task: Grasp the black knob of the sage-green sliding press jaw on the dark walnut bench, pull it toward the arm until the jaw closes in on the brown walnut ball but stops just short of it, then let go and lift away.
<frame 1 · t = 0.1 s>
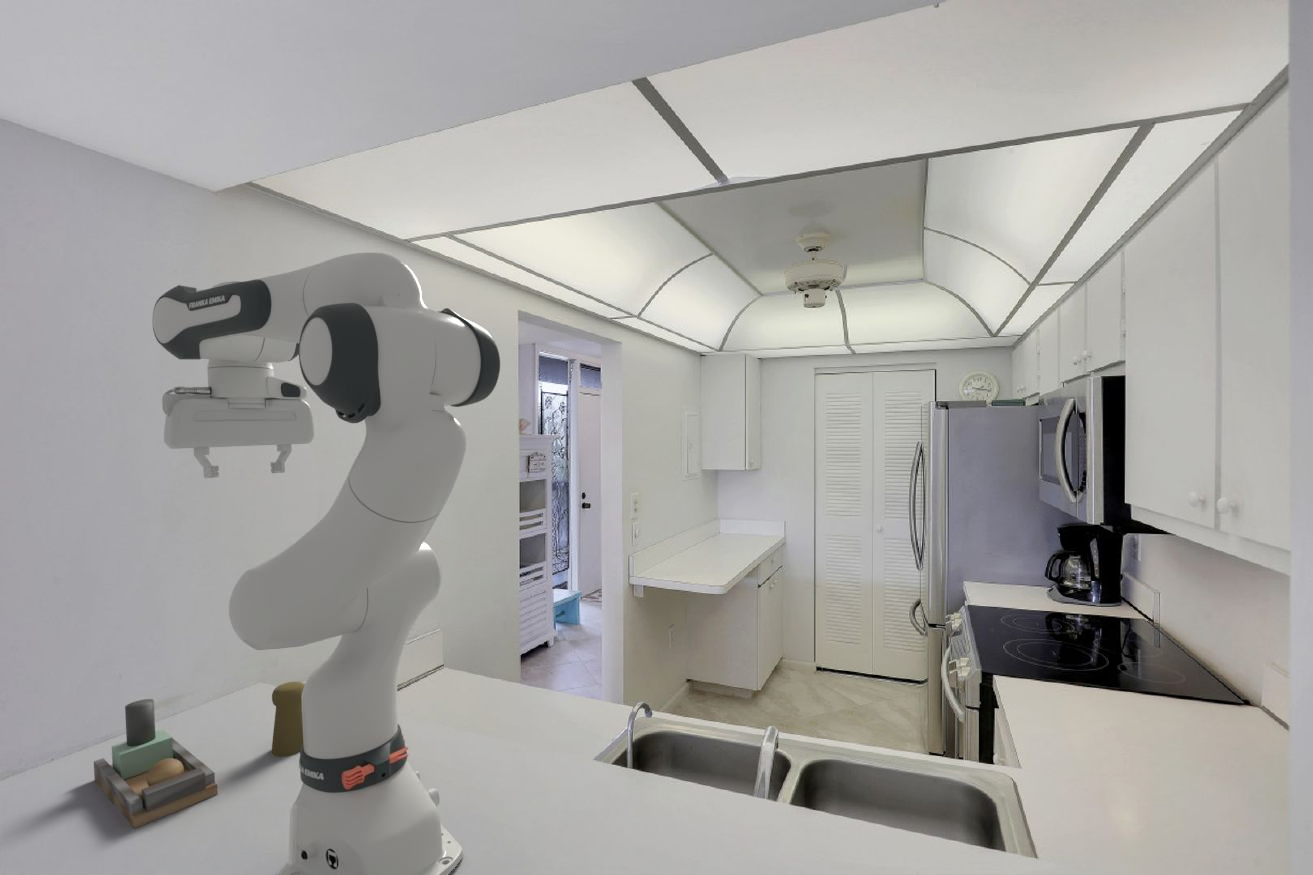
hand: (245, 475, 101), 48 cm above the counter, fingers open, 8 cm apart
cork: (291, 748, 110), on the counter
nut bench: (154, 786, 99), on the counter
walnut: (165, 774, 95), point 4 cm above the counter, touching nut bench
press jaw: (141, 735, 102), point 7 cm above the counter, slide at 0.0 cm
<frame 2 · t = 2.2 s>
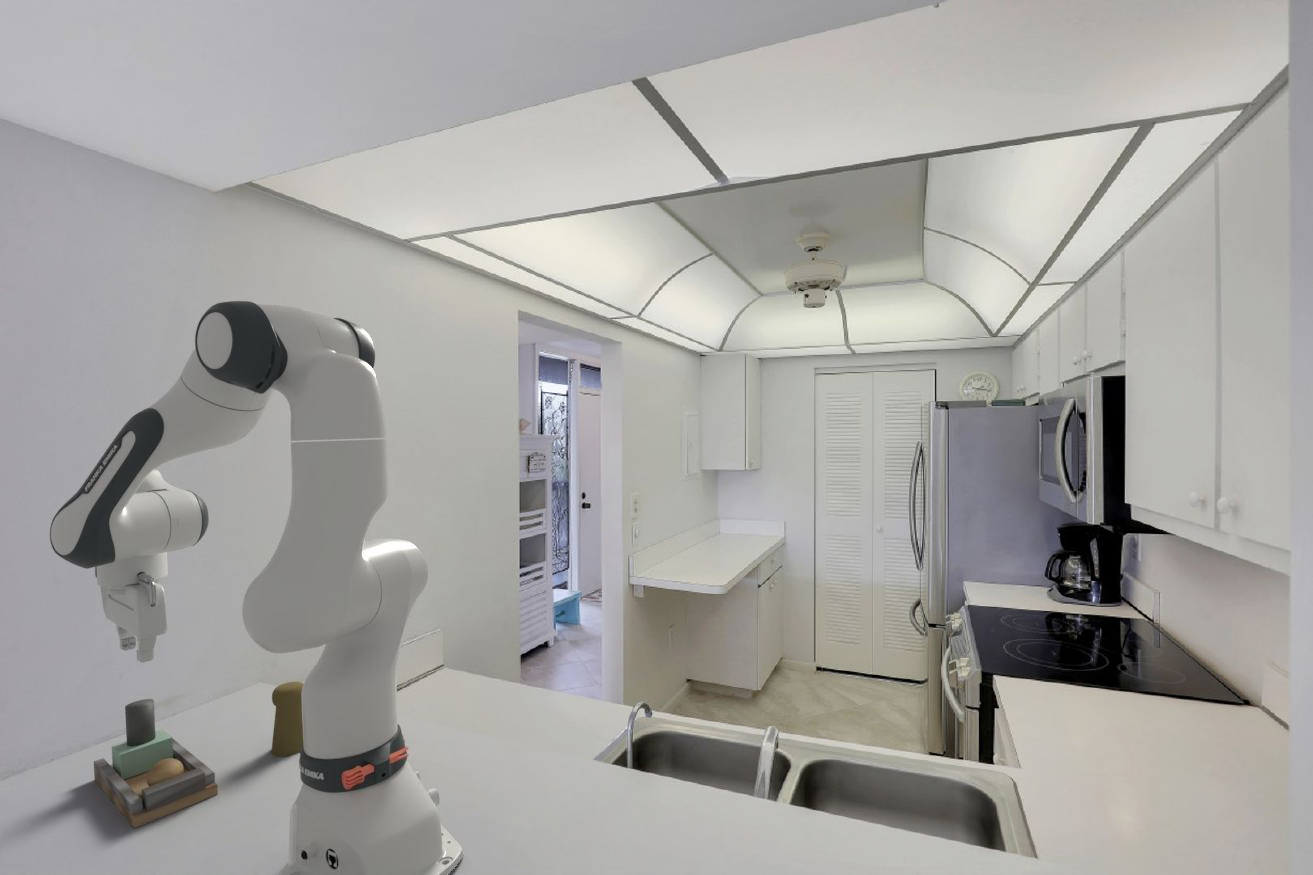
hand: (136, 654, 102), 20 cm above the counter, fingers open, 8 cm apart
nothing on the counter moved.
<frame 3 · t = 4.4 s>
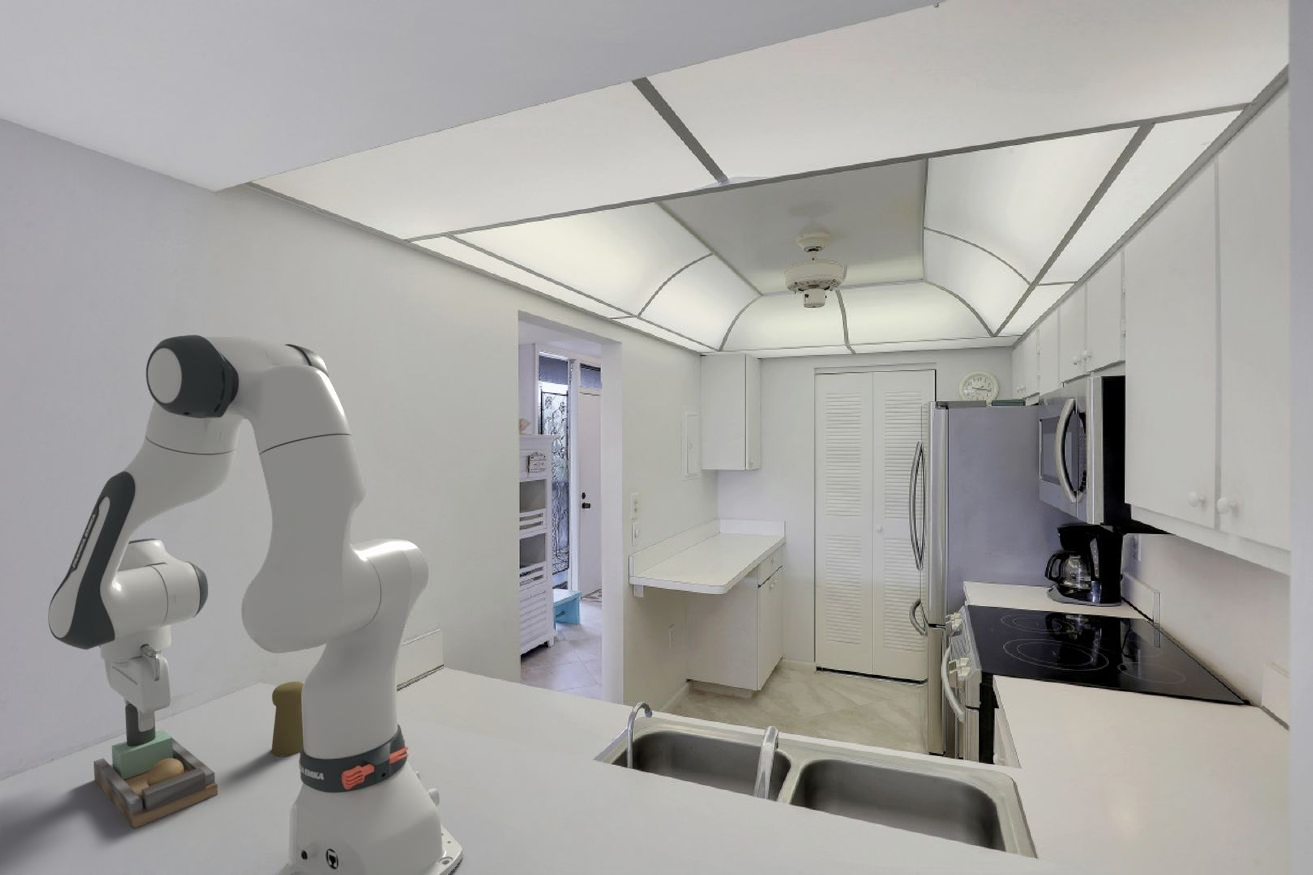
hand: (140, 725, 102), 8 cm above the counter, fingers closed on press jaw, 4 cm apart
press jaw: (142, 735, 102), point 7 cm above the counter, slide at 0.0 cm, touching gripper
everything else where it was.
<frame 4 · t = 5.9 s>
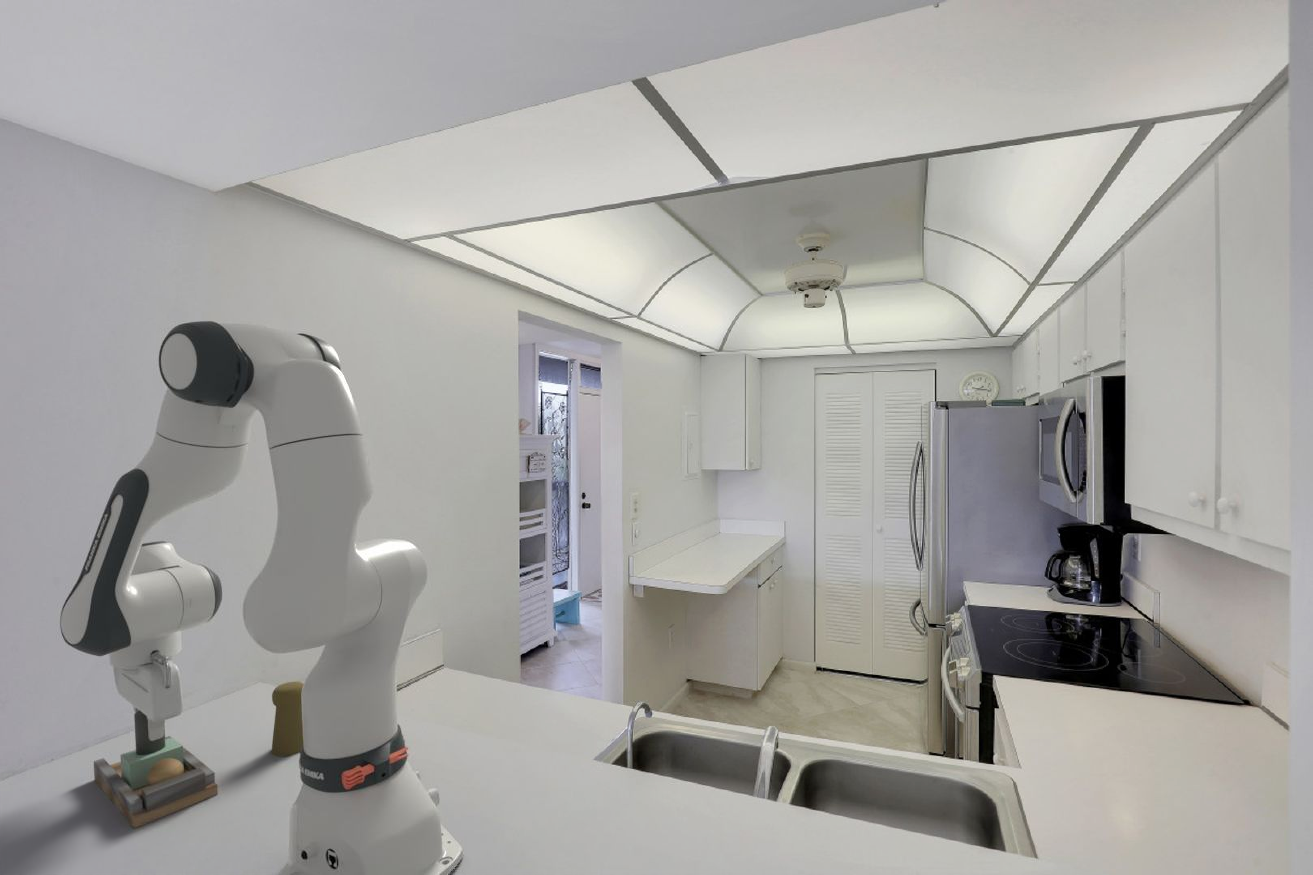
hand: (150, 733, 99), 8 cm above the counter, fingers closed on press jaw, 4 cm apart
press jaw: (151, 743, 99), point 7 cm above the counter, slide at 5.0 cm, touching gripper
everything else where it was.
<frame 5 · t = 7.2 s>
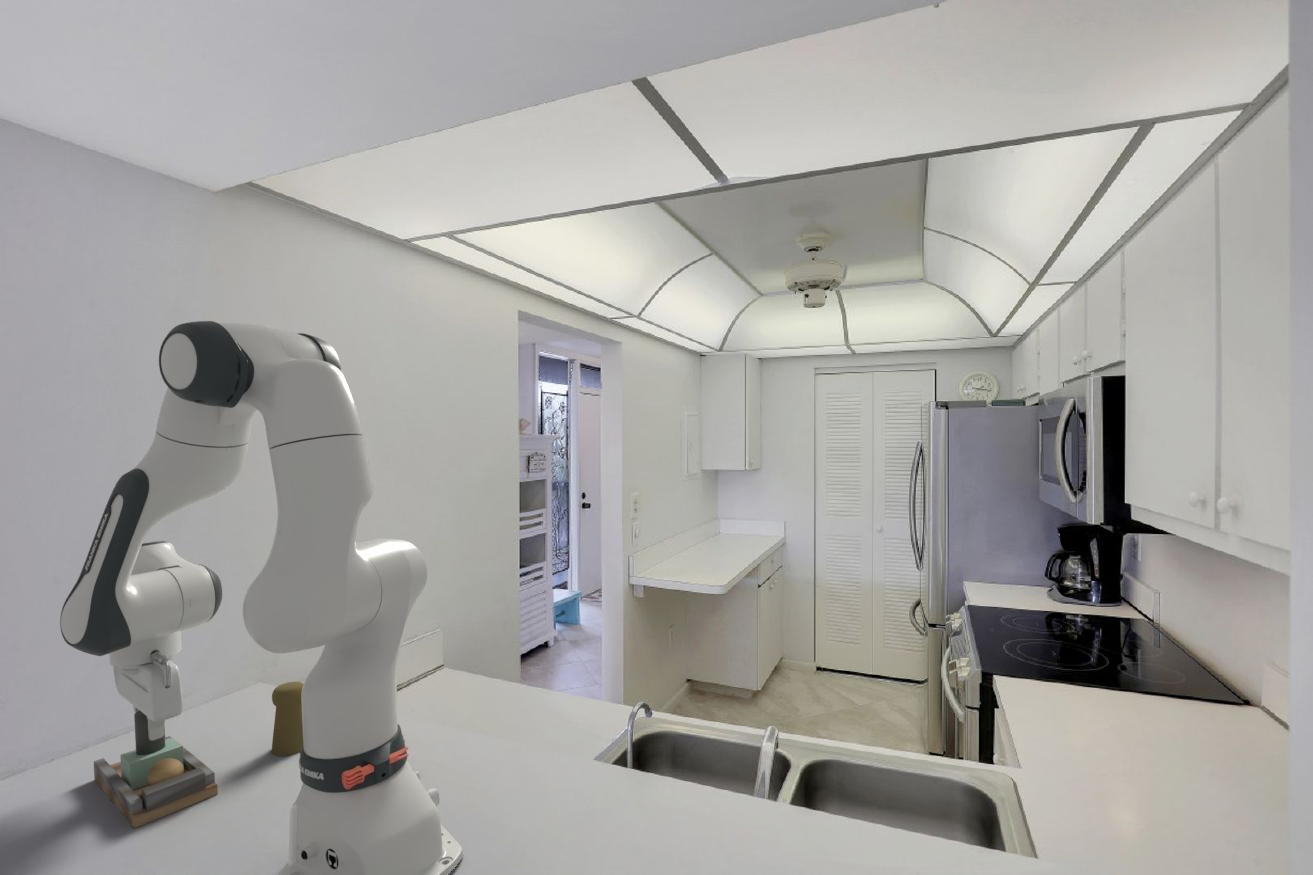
hand: (150, 733, 99), 8 cm above the counter, fingers closed on press jaw, 4 cm apart
press jaw: (151, 743, 99), point 7 cm above the counter, slide at 5.0 cm, touching gripper
everything else where it was.
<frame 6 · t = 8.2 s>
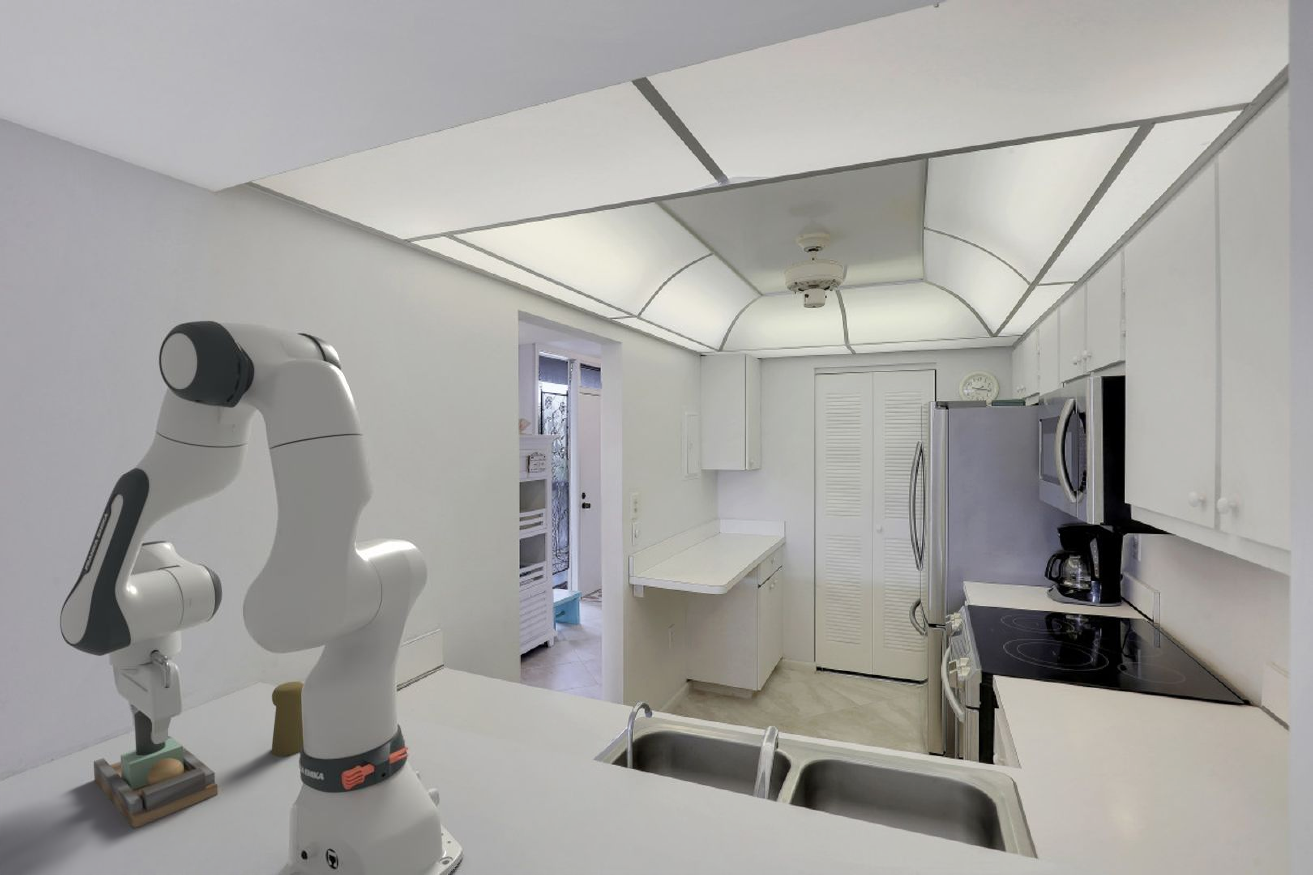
hand: (150, 733, 99), 8 cm above the counter, fingers open, 8 cm apart
press jaw: (151, 743, 99), point 7 cm above the counter, slide at 5.1 cm
everything else where it was.
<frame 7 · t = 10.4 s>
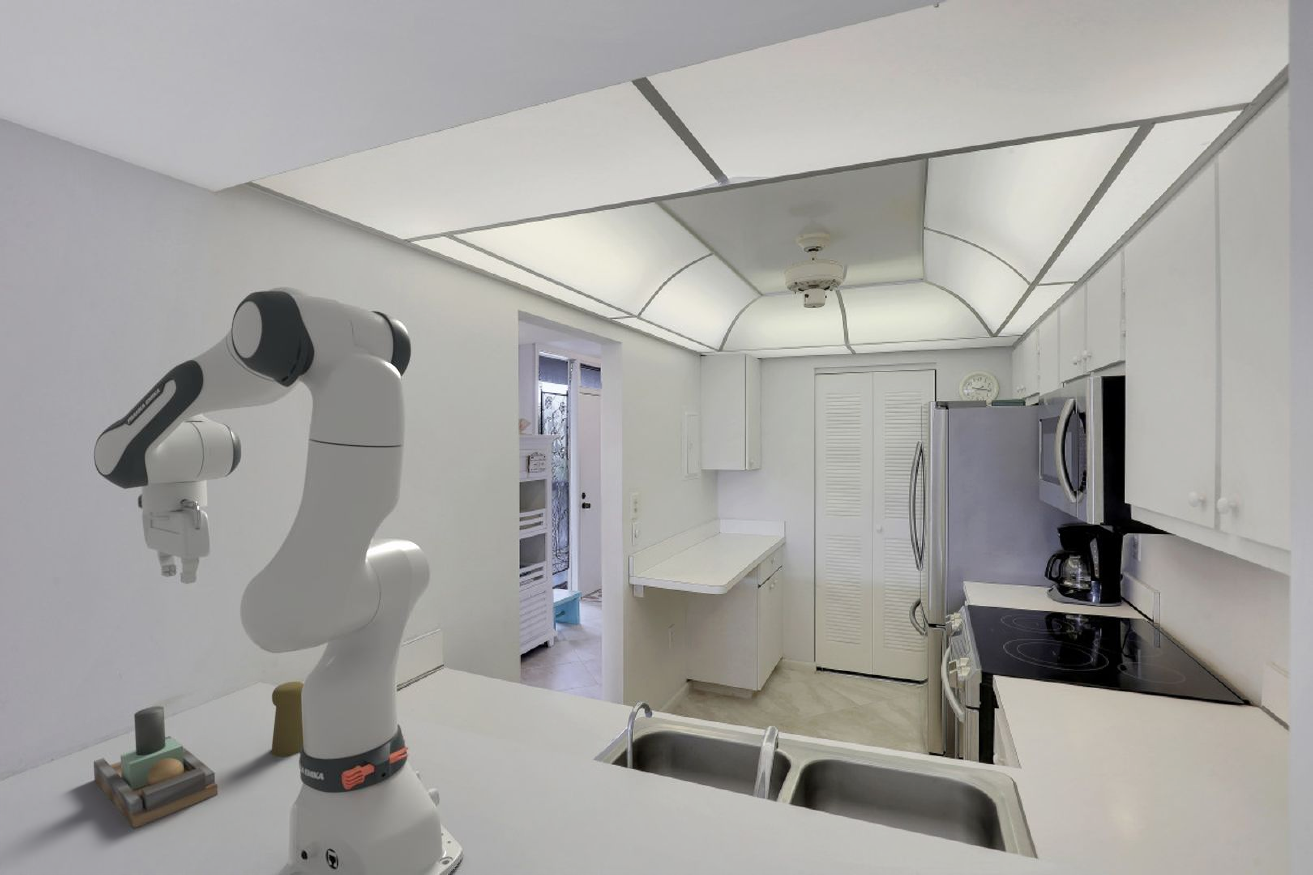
hand: (178, 579, 108), 30 cm above the counter, fingers open, 8 cm apart
nothing on the counter moved.
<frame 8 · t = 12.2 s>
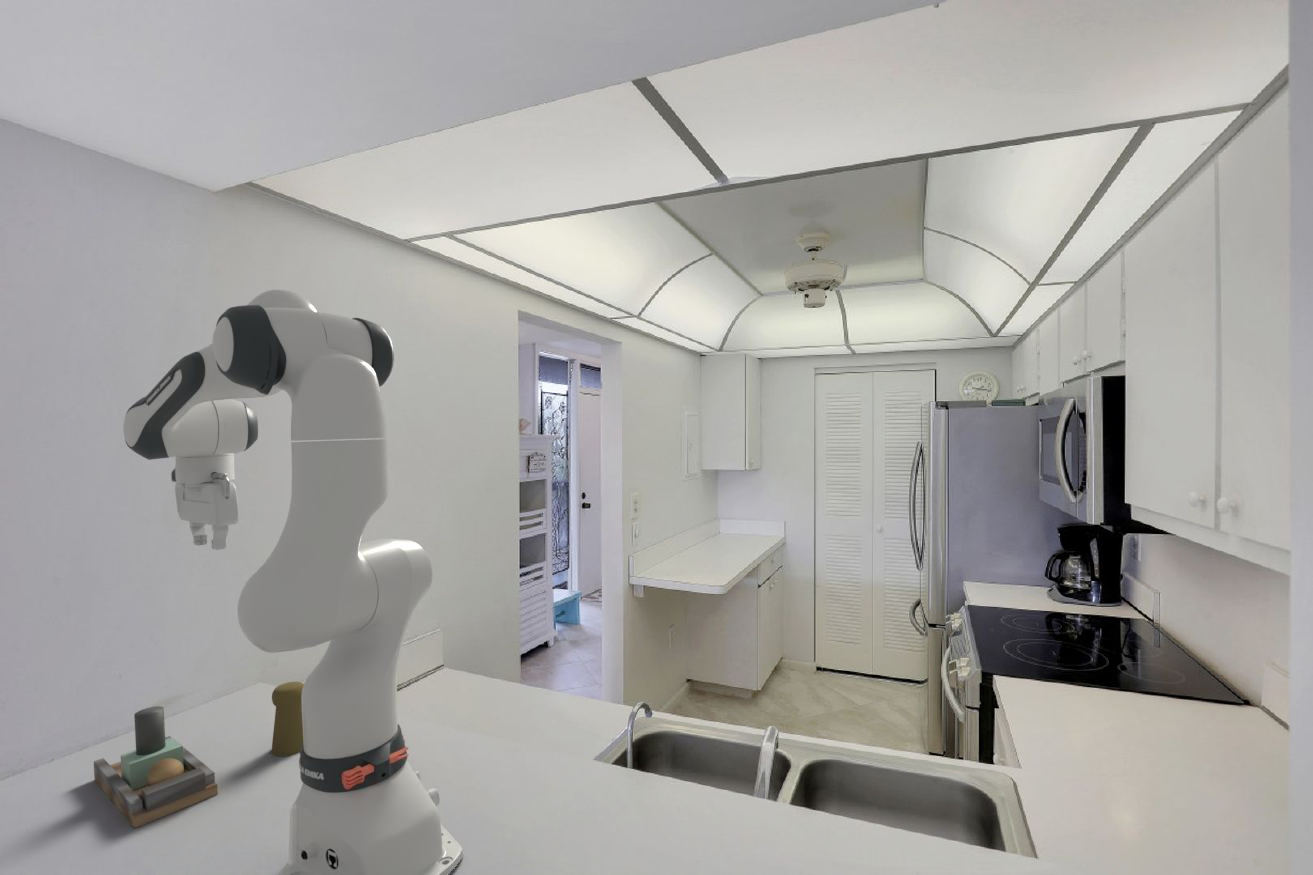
hand: (209, 546, 117), 34 cm above the counter, fingers open, 8 cm apart
nothing on the counter moved.
at the end: press jaw slide at 5.1 cm; walnut moved 0.0 cm from its start; the gripper is holding nothing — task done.
